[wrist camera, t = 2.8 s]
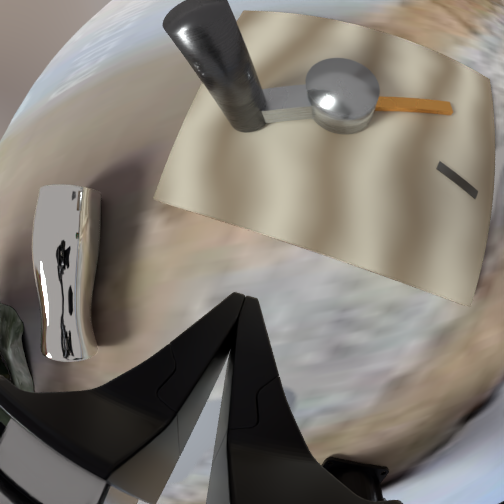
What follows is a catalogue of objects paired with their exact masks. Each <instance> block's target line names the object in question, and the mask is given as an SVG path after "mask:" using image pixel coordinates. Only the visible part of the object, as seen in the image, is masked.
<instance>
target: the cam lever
mask: <svg viewBox="0 0 504 504" xmlns="http://www.w3.org/2000/svg"><path fill="white" fill-rule="evenodd" d="M163 28H164V29H165V31H166V32H167V33H168V35H169V36H170V38H171V39H172V40H173V42H174V43H175V44H176V46H177V47H178V48H179V50H180V51H181V53H182V54H183V55H184V57H185V58H186V60H187V61H188V62H189V64H190V65H191V67H192V68H193V69H194V71H195V72H196V74H197V75H198V77H199V78H200V79H201V81H202V82H203V84H204V85H205V87H206V88H207V90H208V91H209V93H210V94H211V96H212V97H213V99H214V100H215V101H216V103H217V104H218V106H219V107H220V109H221V110H222V112H223V114H224V115H225V117H226V118H227V120H228V121H229V123H230V124H231V126H232V127H233V128H234V129H235V130H237V131H240V132H244V133H248V132H254V131H257V130H259V129H260V128H262V127H263V126H264V125H265V124H266V123H273V122H281V121H291V120H302V119H313V120H314V121H315V122H316V123H317V124H318V125H319V126H321V127H322V128H324V129H325V130H327V131H330V132H333V133H337V134H353V133H357V132H359V131H361V130H363V129H364V128H366V127H367V126H368V125H369V123H370V122H371V120H372V117H373V114H374V111H400V112H418V113H431V114H442V115H451V114H452V113H453V110H452V107H451V104H450V102H448V101H440V100H430V99H420V98H406V97H384V96H379V95H380V87H379V83H378V81H377V79H376V77H375V76H374V74H373V73H372V72H371V71H370V70H369V69H368V68H367V67H365V66H364V65H362V64H360V63H358V62H356V61H353V60H350V59H345V58H329V59H325V60H322V61H320V62H318V63H316V64H315V65H313V66H312V67H311V68H310V70H309V71H308V73H307V76H306V84H304V85H293V86H283V87H275V88H267V89H262V87H261V84H260V81H259V79H258V76H257V73H256V71H255V68H254V65H253V63H252V60H251V57H250V55H249V52H248V49H247V47H246V44H245V42H244V39H243V37H242V34H241V32H240V29H239V27H238V25H237V22H236V20H235V17H234V15H233V13H232V10H231V8H230V6H229V3H228V1H227V0H185V1H183V2H182V3H180V4H178V5H177V6H176V7H174V8H173V9H172V10H171V11H170V12H169V13H168V14H167V15H166V17H165V18H164V21H163Z"/></svg>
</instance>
